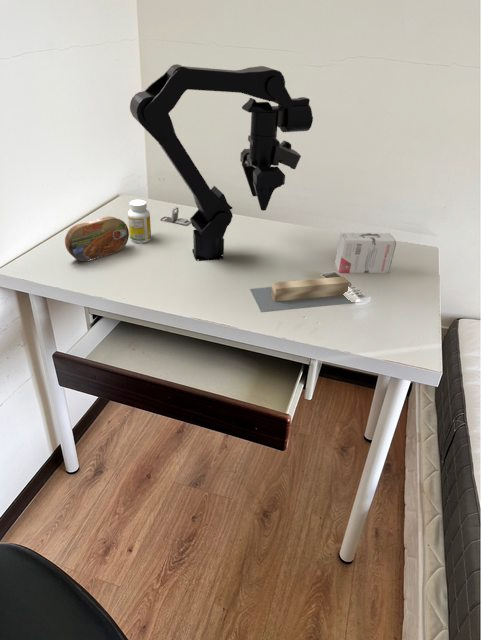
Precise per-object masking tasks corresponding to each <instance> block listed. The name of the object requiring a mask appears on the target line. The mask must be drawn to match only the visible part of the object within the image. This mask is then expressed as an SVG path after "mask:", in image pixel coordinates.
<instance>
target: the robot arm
mask: <svg viewBox="0 0 481 640" xmlns="http://www.w3.org/2000/svg"><path fill="white" fill-rule="evenodd" d="M188 90H191V91H203V92H204V91H209V92H222V93H224V92H225V93H239V94H244V95H247V96H249V97H250V98H249V99H248V100H247V102H246V103H244V104H243V105H242V106H241V109H242V110H243V111H245V112H247V113H249V114H250V113H251V114H250V117H251V118H250V135H248V137H247V141H248V143H249V148H244V149H243V150H242V151H241V152H240V162H241V167H242V169H243V172H244V176H245V178H246V180H247V184H248V186H249V189H250V193H251V196H252V197H257V202H258V205H259V208H260V211H266V210H267V209H268V206H269V203H270V201H271V198H272V195H273V193H274V191H275V190H276V189H278V188H280V187H282V186H283V185H285V184H286V174H285V173H284V172H283V171H282V170H281V169H280V168H279V166H280V164H281V165H283V166H287V167H289V168H290V169H292V170H296V168H297V166H298V164H299V161H300V159H301V158H302V155H301V154H300V153H299V152H297V151H296V150H295V149H293V148H292V144H291V143H290V142H289V141H287V140H282V141H281V142H280V140H279V139H278V135H277V134H278V128H279V129H280V131H281V132H282V133H294V132H308V131H309V130H310V129H311V128H312V125H313V121H314V116H313V111H312V107H311V105H310V101H311V100H310V98H308V97H305V96H303V97H302V96H301V97H298V98H292V97H291V95H290V93H289V91H288V90H287V88H286V80H285V76H284V75H283V73H282V72H281V71H280V70H278V69H274V68H270V67H268V66H264V65H259V66H252V67H246V68H241V69H236V70H233V69H232V70H231V69H222V68H221V69H220V68H212V67H211V68H208V67H196V66H195V67H194V66H183V65H181V64H172V65H171V66H170V67H169V68H168V69H167V70H166V71H165V72H164V74H163V75H161V76H160V77H159V78H157V79H156V80H155V81H153V82H152V83H151V84H150V85H149V86H147V88H145V90H143V91H139V92H137V93H135V94H134V95H133V96H132V98H131V99H130V105H129V111H130V114H131V115H132V117H133V118H134V119H135V120H136V121H137V122H138V123H139V124H140V125H141V126H142V128H144V130H146V132H147V133H148V134H149V135H150V136H151V137H152V138H153V139H154V140H155V141H156V142H157V143H158V144H159V145H160V148H161V149H162V150H163V152H164V153H165V155H166V157H167V158H168V159H169V161H170V162H171V164H172V165H173V167H174V169H175V170H176V171H177V173H178V174H179V175H180V177H181V179H182V180H183V182H184V183H185V185H186V186H187V187H188V189H189V190H190V192H191V194H192V195H193V199H194V202H195V205H196V207H197V211H196V212H194V213H193V215H192V216H191V217H190V219H189V220H190V221H191V225H192V227H193V228H194V229H193V231H192V232H193V233H192V235H193V237H192V239H193V248H192V251H191V252H192V254H193V258H194V259H195V261H196V262H207V261H216V260H217V261H220V260H224V255H225V251H224V250H225V248H224V247H225V239H224V237H225V233H226V231H227V228H228V226H230V224H231V222H232V220H233V219H232V218H233V212H232V210H233V206H232V205H230V204H229V203H228V201H227V198H226V196H225V194H224V193H223V192H222V191H221V190H220V189H219V188H218V187H216V186H215V185H213V186H212V187H211V188H210V186H209V184H208V183H207V182H206V180H205V178H204V176H203V175H202V173H200V170H199V169H198V168H197V166H196V165H195V162H194V161H193V159H192V158H191V157H190V155H189V153H188V152H187V150H186V148H185V147H184V145H183V144H182V142H181V141H180V139H179V138H178V136H177V133H176V131H175V127H174V124H173V121H172V118H171V116H170V114H169V113H170V112H172V110H173V109H174V108H175V107H176V105H177V104H178V103H179V101H180V99H181V97H182V96H183V95H184V93H185V92H186V91H188ZM253 97H254V98H257V99H261V100H263V101H257V100H256V99H254V98H253ZM271 102H273V103H275V104H278V105H271ZM279 163H280V164H279Z"/></svg>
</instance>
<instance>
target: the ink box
mask: <svg viewBox="0 0 481 640" xmlns="http://www.w3.org/2000/svg"><path fill="white" fill-rule="evenodd" d="M337 244H338V245H337V251H336V256H335V262H334V265H335V267H336V269H337V272H338V273H339V274H388V273H390V272H391V268H392V263H393V259H394V256H395V250H396V247H397V239H395V237H393V235H392V233H389V232H383V233H382V232H378V233H377V232H340V233H339V239H338V243H337Z"/></svg>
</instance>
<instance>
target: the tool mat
mask: <svg viewBox="0 0 481 640" xmlns="http://www.w3.org/2000/svg"><path fill="white" fill-rule="evenodd" d="M249 290H250V292H251V294H252V296H253V299H254V300H255V302H256V304H257V306H258V308H259V312H260V313H267V312H276V311H289V310H298V309H308V308H316V307H327V306H337V305H339V306H340V305H345V304H346V305H348V304H355V303H354V302H351V301H350V300H348V299H347V298H346V297H345V296H344V295H338V296H328V297H317V298H307V299H296V300H285V301H274V300H273V298H272V296H271V291H272V286H267V287H257V288H256V287H255V288H249Z"/></svg>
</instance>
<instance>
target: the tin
mask: <svg viewBox="0 0 481 640" xmlns="http://www.w3.org/2000/svg"><path fill="white" fill-rule="evenodd" d="M129 239H130V233H129V226H128V225H127V223H125V221H124V220H122V219H120V218H117V217H115V216H105V217H101V218H97V219H93V220H90V221H86V222H82V223H78V224H76V225H74V226H72V227H70V229H69V230H68V231H67V232H66V235H65V238H64V244H65V248H66V250H67V252H68V253H69V254H70V255H71V256H72V257H73V258H74V259H75V260H77V261H80V262H88V261H87V260H90V259H93V260H95V259H94V258H96V259H98V258H97V257H99V258H101V256H102V257H105V256H108V255H109V256H110V255H111V254H115V253H119V252H120V251H122V250H123V248H124V247H126V245H127V244H128V242H129ZM90 261H91V260H90Z"/></svg>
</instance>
